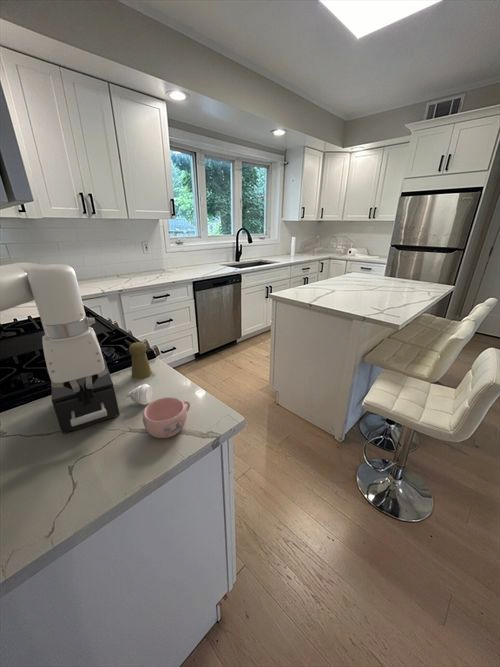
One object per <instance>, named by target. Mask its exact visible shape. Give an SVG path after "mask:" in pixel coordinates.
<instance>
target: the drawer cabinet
mask: <svg viewBox="0 0 500 667" xmlns="http://www.w3.org/2000/svg"><path fill="white" fill-rule="evenodd" d="M103 360H104V365H105V367H106V369H107V371H108V373H107V374H106V375H104V376H102V377H99V378H98V379H97V380H96V381H95V382H94V384H93V385H92V391H93V392H94V391H98V390H101V389H105V388H111V389H112V393H113V397H114V402H115V407H116V411H117V416H116V417H118V416H120V409H119V406H118V400H117V396H116V391H115V387H114V386H115V385H114V381H113V379H112V376H111V374H110V370H109V368H108V365H107V362H106V359H105V358H103ZM77 380H78V381H79V383H80V384H81V385H83V388H84V382H85V377H84V378H80V379H77ZM84 392H85V391H84ZM76 396H77V394H76V392H74V390H72V389H69V388H67V387H57V388H53V387H51V404H52V407H53V409H54V412H55V415H56V419H57V422H58V425H59V428H60V431H61V434H66V433H69V432H70V431H68V432H65V433H64V430H63V427H62V424H61V420H60V417H59V414H58V411H57V408H56V402H60V401H61V400H65V399H68V398H72V397H76ZM108 419H110V418H108ZM108 419H105V420H108ZM105 420H102V421H105ZM102 421H99V422H98V423H100V422H102Z"/></svg>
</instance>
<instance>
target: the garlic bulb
mask: <svg viewBox="0 0 500 667" xmlns="http://www.w3.org/2000/svg"><path fill="white" fill-rule="evenodd" d="M126 397H127V398H130V399H131V400H132V401H133V402H135V403H137V404H140V405H143V406H145V405H146V406H147V405H148V404H150V403H151V402H152V400H153V387H152V386H151V385H149V384H147V383H143V384H141V385H138V386H137V387H135V388H134V389H132V390H130V391H129V392H128V393H127V395H126Z"/></svg>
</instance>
